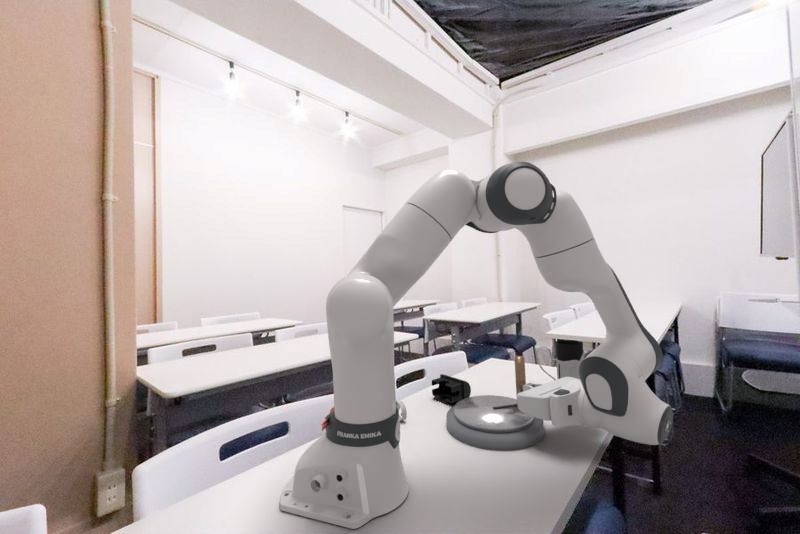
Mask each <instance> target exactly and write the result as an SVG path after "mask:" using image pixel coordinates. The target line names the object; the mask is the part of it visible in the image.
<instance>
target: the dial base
mask: <svg viewBox="0 0 800 534" xmlns="http://www.w3.org/2000/svg"><path fill="white" fill-rule="evenodd" d="M544 421H545V420H542V419H538V418H536V417H534V422H533V424H532V425H531V426H529V427H528V428H526V429H523V430H520V431H515V432H508V433H493V432H484V431H479V430H475V429H472V428H469V427H467V426H465V425H463V424H461V423H460V422H458V421H457V420H456V418H455V416H454V406H453V407H450V408H449V409H448V411H447V412H446V429H447V431H448V434H450V435H451V436H452V437H453V438H454V439H457V440H458V441H459V442H462V443H464V444H466V445H469V446H471V447H475V448H480V449H484V450H490V451H515V450H521V449H526V448H529V447H531V446H534V445H536V444H538V443H539V442H540V441H542V439H543V438H544V436H545V425H544V424H545V423H544Z"/></svg>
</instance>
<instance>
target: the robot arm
mask: <svg viewBox="0 0 800 534" xmlns="http://www.w3.org/2000/svg"><path fill="white" fill-rule="evenodd" d="M465 226H467V227H469V228H472V229H474V230H476V231H478V232H481V233H485V234H495V233H496V234H497V233H499V232H503V231H504V232H505V231H509V230H513V229H517V231H520V233H522V235H524V238H526V240H527V241H528V243H529V246H530V250H531V253H532V255H533V258H534V261H535V263H536V266H537V269H538V271H539V273H540V274H541V277H542V278H543V280H544V281H545V282H546V283H547V284H548V285H549V286H550V287H552V288H554V289H556V290H559V291H562V292H566V293H567V292H568V293H582V294H585V295H586V296H587V297H588V298H589V299H590V300H591V302H592V303H593V305H594V307H595V310H597V311H596V312H597V313H598V315H599V317H600V319H601V321H602V323H603V325H604V328H605V330H606V332H605V333H606V334H605V337H604V340H603V342H602V343H600V344H599V345H598V346H597V347H596V348H594V349H593V350H592V351H591V352H590V353H588V354H587V356H586V357H584V360H583V361H582V362H581V364H580V366H579V377H580V379H577V378H573V377H563V378H560V379H556V380H554V379H553V380H552V381H549V382H546V383H535V382H534V383H533V382H527V383H526V384H525V385H523V392H520V393H518V394H517V395H516V399H517V405H518V408H519V410H520V411H521V412H523V413H526V414H528V415H530V416H533V417H536V418H538V419H542V420H543V421H550V423H551V426H554V427H556V428H565V427H571V426H580V427H583V426H586V427H588V428H592V429H595V430H596V429H599V430H604V431H605V432H608V433H609V434H610V435H613V436H615V437H619V438H621V439H624V440H628V441H631V442H634V443H639V444H643V445H650V446H657V445H658V446H659V445H662V444H663V443H664V442H665V440H666V439H667V438H668V437H669V434H670V433H671V430H672V426H673V422H674V412H673V408H672V407H671V405H670V404H668V403H666V402H665V401H663V400H661V399H660V398H659V396H657V395H656V394H655V393H654V392H653V391H652V390H651V388H650V387H649V385H648V384H647V382H646V380H647V379H648V378H649V377H651V376H652V375H653V374H654V373H655V372H657V370H659V369H660V368H661V366H662V365H663V364H662V363H663V359H664V354H663V351H662V348H661V346H660V343H658V341H657V340H656V338H655V337H654V336H653V335H652V334H651V333H650V332H649V331H648V330H647V328H646V327H645V325H643V323H642V321H641V320H640V318H639V316H638V315H637V312H636V311H635V309H634V307H633V305H632V303H631V301H630V298H629V297H628V294H627V293H626V290H625V289H624V286H623V285H622V283H621V280H620V279H619V278H618V275H617V274H616V273H615V271H614V269H613V268H612V267H611V266H610V265H609V264H608V263H607V261H606V260H605V258H604V256H603V254H602V253H601V250H600V248H599V246H598V244H597V241H596V239H595V237H594V234H593V231H592V229H591V227H590V224H589V223H588V221H587V219H586V217H585V215H584V213H583V210H581V208H580V206H579V204H578V203H577V201H576V200H575V199H574V197H573V196H572V195H571V194H570V193H568V192H567V191H564V190H556V187H555V186H554V185H553V184H552V183H551V182H550V180H549V178H548V177H547V175H546V174H545V173H544V172H543V171H542V170H541V169H540V168H539V167H538V166H536V165H535V164H533V163H531V162H527V161H513V162H509V163H506V164H504V165H502V166H500V167H498V168H497V169H495V170H494V171H493V172H491V173H490V174H488V175H487V176H485V177H484V178H482V179H480V180H477V181H476V180H472V179H470V178H469V177H468V176H467V175H466V174H464V173H463V172H461V171H459V170H456V169H452V168H447V169H446V168H445V169H441V170H439V171H438V172H437V173H435V174H434V175H433V176H432V177H430V178H429V179H428V180H427V181H426V182H424V183H423V184H422V185H421V186H420V187H419V188H418V189H417V190H416V191H415V192H414V193H413V194H412V195H411V196H410V197H409V198H408V199H407V201H406V202H405V203H404V204H403V206H402V207H401V208H400V210H398V212H397V213H396V214H395V215H394V216H393V218H392V219H391V220H390V221H389V223H387V225H386V226H385V227H384V228H383V229H382V231H381V232H380V233H379V234H378V235H377V236H376V239H374V241H373V242H372V243H371V244H370V245H369V248H367V250H366V251H365V252H364V254H362V257H361V258H360V259H359V260H358V262H357V263H356V264H355V265H354V267H353V268H352V269H351V270H350V271H349V273H348V274H346V276H344V277H343V278H341V279H339V280H337V282H336V283H335V284H334V285H333V286H332V288H331V289H330V291H329V292H328V294H327V295H328V296H327V297H326V301H325V312H326V313H325V315H326V326H327V327H326V328H327V336H328V345H329V347H328V348H329V353H330V360H331V367H332V382H333V383H332V385H333V407H331V409H330V410H329V411H330V412H329V413H328V414H327V415H326V416H325V418H324V421H322V423H321V426H322V427H321V431H324V430H325V432H324V433H323V435H321V436H320V437H319V438H317V440H315V441H314V442H313V443H311V445H310V446H308V447H307V448H306V450H305V451H304V452H303V453H302V454H301V456H300V458H299V459H298V461H297V463H296V466H295V469H294V472H293V473H294V474H293V476H292V477H291V478H290V480H289V481H288V482H287V483H286V485H285V487H284V488H283V490H282V491H281V495H280V498H279V509H280V511H283V512H286V513H289V514H294V515H297V516H298V515H299V516H301V517H305V518H309V519H313V520H316V521H321V522H325V523H327V524H328V523H329V524H333V525H335V526H336V525H337V526H339V527H344V528H347V529H352V530H354V529H358V528H360V527H362V526H363V525H365V524H367V523H368V522H369V521H370V520H372V519H374V518H377V517H379V516H382V515H385V514H387V513H390V512H392V511H393V510H395V509H397V508H398V507H400V505H402V503H404V501H405V500H406V499H407V497H408V495H409V492H410V485H409V481H408V479H407V475H406V473H405V468H404V466H403V465H404V464H403V460H402V455H401V450H400V449H401V448H400V441H401V421H400V418H399V415H400V411H399V412H398V408H397V407H396V401H397V400H396V381H395V380H396V379H395V378H396V377H395V328H394V327H395V326H394V325H395V321H394V307H395V306H396V305H397V304H398V302H399V301H401V299H402V298H403V297H404V296H405V294H407V292H409V291H410V289H412V288H413V287H414V285H416V283H417V282H418V281H419V280H420V279H421V278H422V277H423V276H424V275H425V274H426V273H427V271H429V269H430V268H431V267H432V265H433V264H434V263H435V262H436V260H437V259H438V258H439V257H440V256H441V254H442V253H443V252H444V250H445V249H447V247H448V246H449V244H450V243H451V242H452V241H453V240H454V238H455V237H456V236H457V234H458V233H459V232H460V230H461V229H463V227H465Z"/></svg>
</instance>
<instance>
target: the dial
mask: <svg viewBox="0 0 800 534" xmlns="http://www.w3.org/2000/svg"><path fill="white" fill-rule="evenodd" d="M513 358H514V373H515V392H516V394H515V395H516V396H517V394H518V393H520V392H523V385H525V384H527V382H526V379H527V378H526V361H525V359H526V358H525V356H523V355H515V356H514V357H513ZM454 416H455V418H456V420H457V421H458V422H460V423H461V424H463V425H465V426H467V427H469V428H472V429H475V430H479V431H484V432H493V433H508V432H515V431H520V430H523V429H526V428H528V427H529V426H531V425H532V424H533V422H534V417H533V416H530V415H528V414H526V413H523V412H521V411H520V410H519V408H518V405H517V398H513V397H509V396H505V395H504V396H503V395H495V394H493V395H492V394H491V395H490V394H488V395H487V394H486V395H485V394H484V395H483V394H482V395H474V396H470V397H469V398H465V399H463V400H461V401H459V402H457V403H456V404H455V406H454Z"/></svg>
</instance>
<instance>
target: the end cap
mask: <svg viewBox="0 0 800 534" xmlns="http://www.w3.org/2000/svg"><path fill="white" fill-rule="evenodd" d="M435 385H436V386H437V385H438V387H436V388H433V389H431V394H432V396H433V397H432V399H434V400H433V401H435V400H436V402H438V401H439V403H440V402H441V403H440V404H443V405H445V404H446V405H445V406H448V405H449V406H448V407H450V406H451V407H450V408H452V407H453V406H455V404H456V403H457V402H459V401H461V400H463V399H465V398H469V397H471V394H472V392H471V391H472V387H471V385H470V383H469V382H468V381H466V380H463V379H460V378H457V377H453V376H451V375H446V374H443V373H442V374H440V375H439V377H438V378H435V379H432V380H431V386H435Z"/></svg>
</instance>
